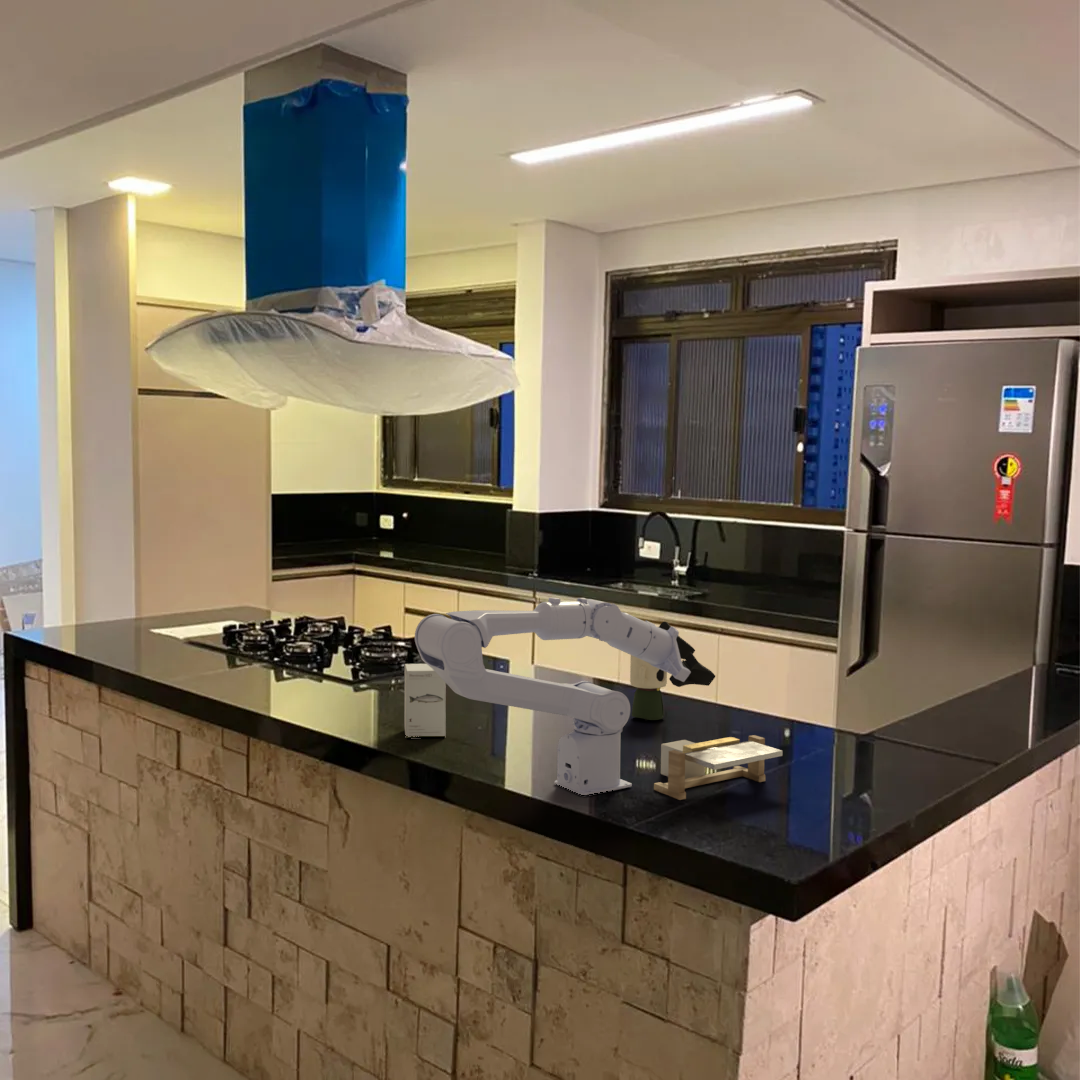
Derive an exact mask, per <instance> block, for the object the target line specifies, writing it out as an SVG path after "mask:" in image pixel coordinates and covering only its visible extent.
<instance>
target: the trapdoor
mask: <svg viewBox="0 0 1080 1080" xmlns="http://www.w3.org/2000/svg"><path fill="white" fill-rule="evenodd" d="M740 741H741V740H740V738H736V737H734V736H733V737H732V736H729V737H723V738H718V739H713V740H711V739H710V740H708V741H707V740H706V741H702V742H701V741H700V742H694V743H695V744H689V745H684V746H683V753H685V760H688V761H691V762H693V763H696V764H699V765H702V766H705V768H708V769H710V770H713V771H715V770H716V771H717V770H720V769H721V770H722V769H726V768H731V767H735V766H740V765H745V764H748V763H750V762H755V761H760V760H764V761H765V760H768V759H774V758H778V757H783V750H782V749H779V748H775V747H772V746H769V745H766V744H765V745H763V744H759V743H756V742H753V741H747V740H746V741H742V742H740Z"/></svg>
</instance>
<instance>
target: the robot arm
mask: <svg viewBox="0 0 1080 1080" xmlns="http://www.w3.org/2000/svg"><path fill="white" fill-rule="evenodd" d="M576 599H577V600H574V601H573V600H572V601H571V600H567V601H564V600H563V601H561V598H559V597H548V601H543V602H540V603H538V605H537V606H536V607H535V608H534V609H533V610H495V609H493V610H492V609H491V610H489V609H488V610H484V609H483V610H479V609H478V610H477V609H476V610H474V609H473V610H455V611H451V612H446V613H445V614H446V615H447V616H449V617H447V616H445V615H444V614H440V613H433V614H428V615H426V616H425V617H424V618H423V619H421V620H420V622H419V623H418V624H417V626H416V628H415V632H414V642H415V646H416V649H417V651H418V654H419V656H420V659H421V660H422V661H423V662H424V664H427V665H429V666H430V667H431V668H432V669H433V670H434V671H435V672H436V673H437V674H438V675H439V676H440V677H441V678H442V679H443V680H444V682H445V683H446V685H447V686H448V687H449V688H450V689H451V690H452V691H453V692H454V693H455V694H457V695H459V696H461V697H464V698H465V699H469V700H474V701H479V702H486V703H491V704H496V705H503V706H507V707H514V708H518V709H520V708H521V709H524V710H525V709H526V710H531V711H536V712H541V713H547V714H548V713H549V714H552V715H553V714H554V715H559V716H565V717H569V718H572V725H573V727H574V728H573V729H572V730H571V731H570V732H568V733H566V734H563V735H562V736H560V738H559V740H558V743H557V759H556V763H557V768H556V770H557V772H556V773H557V774H556V775H557V776H556V780H554V784H555V783H556V784H557V786H559V785H560V786H559V787H561V786H562V787H561V788H563V787H564V788H563V789H565V788H567V789H566V790H568V789H569V790H568V791H570V790H571V791H570V792H572V791H573V793H574V792H576V793H578V794H577V795H579V794H581V795H587V794H593V795H595V794H594V793H598V794H601V793H600V792H603V793H607V792H606V791H608V792H612V790H613V791H618V790H622V789H626V788H631V787H633V786H632V785H633V784H632V782H629V781H627V780H624V779H621V740H622V739H621V733H622V732H623V728H624V726H626V725H627V722H628V721H629V719H630V716H631V703H630V700H629V698H628V697H627V696H626V695H625V694H624V693H623V692H621V691H618V690H613V689H612V690H611V689H609V688H606V687H603V686H600V685H597V684H594V683H593V682H591V681H589V680H581V681H578V682H575V683H566V682H564V683H561V682H560V683H559V682H555V681H550V680H544V679H539V678H534V677H529V676H523V675H518V674H513V673H508V672H504V671H497V670H493V669H488V668H485V667H486V666H485V665H484V659H483V658H484V657H483V649H482V648H484V649H486V648H487V647H488V646H489V644H490V642H491V641H492V639H493V637H497V636H506V635H507V636H508V635H517V634H518V635H520V634H528V633H535V634H536V636H537V637H539V638H540V640H543V641H554V640H555V641H557V640H558V641H559V640H574V639H576V640H579V639H583V638H585V637H588V638H592V639H596V640H599V641H601V642H604V643H607V644H608V645H609V646H610V647H612V648H614V649H617V650H619V651H620V652H624V653H625V654H628V655H629V656H631V655H632V656H634V657H637V658H639V659H641V660H643V661H646V662H648V663H650V664H651V665H652V666H654V667H656V668H658V669H661V670H663V671H665V672H667V674H670V675H671V676H670V677H669V678H668V679H669V681H670V682H671V685H673V686H675V687H679V688H680V687H684V686H688V685H698V686H707V687H708V686H710V685H711V684H712V682H713V681H714V680H715V678H716V675H715V674H714V673H713V671H712V670H711V669H709V668H708V667H706V666H704V665H703V664H702V663H700V662H699V661H698V659H697V658H696V657H695V655H694V653H695V651H696V650H695V648H694V647H693V646H692V645H691V644H689V643H688V642H687V641H686V640H685V639H683V638H682V637H681V636H679V633H680V632H679V630H678V628H676V627H674V626H671V624H670V623H668V622H667V621H662V622H661V623H660V624H659V625H658V626H657V625H656V624H655V623H653V622H651V621H648V620H643V619H640V618H638V617H636V616H634V615H631V614H630V613H627V612H625V611H624V612H623V611H621V609H620V607H619V606H618V605H616V604H615V603H613V602H612V603H610V602H606V601H601V600H597V599H592V598H585V597H577V598H576ZM450 617H451V618H450ZM556 784H555V785H556ZM576 793H575V794H576ZM581 795H580V796H581Z"/></svg>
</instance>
